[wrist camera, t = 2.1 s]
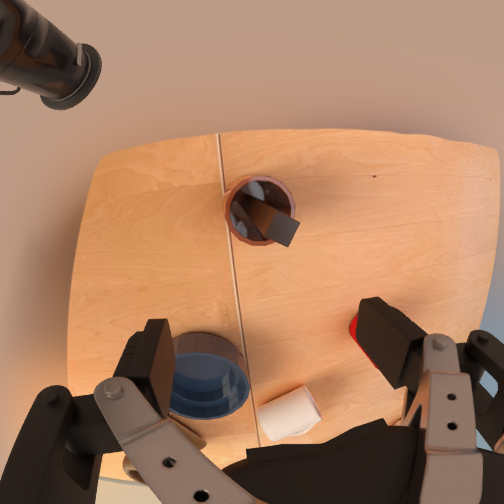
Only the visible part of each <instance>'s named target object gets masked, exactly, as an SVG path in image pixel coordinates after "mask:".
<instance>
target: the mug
mask: <svg viewBox="0 0 504 504" xmlns="http://www.w3.org/2000/svg"><path fill="white" fill-rule="evenodd" d="M257 417H258V421H259V423H260V425H261V427H262V429H263V431H264V433H265V434H266V436H267V437H268V438H269V439H270V440H272V441H278V440H280V439H283V438H285V437H287V436H298V435H302V434H304V433H306V432H308V431H309V430H310V429H311V428H312V427H313V426H314V425H315V424H316V423H318V422H320V421H322V419H323V418H322V415H321V412H320V410H319V408H318V406H317V404H316V402H315V400H314V399H313V397H312V395H311V393H310V392H309V390H308V389H307V387H306V386H304V385H303V386H301V387H299V388H297V389H295V390H293V391H291V392H289V393H287V394H285V395H283V396H281V397H279V398H277V399H275V400H272V401H270V402H268V403H266V404H264V405H261V406H259V407H258V408H257Z"/></svg>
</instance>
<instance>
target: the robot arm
mask: <svg viewBox="0 0 504 504" xmlns="http://www.w3.org/2000/svg"><path fill="white" fill-rule="evenodd" d="M91 68H92V61H91V57H90V56H89V54H88V53H87V52H86V51H84V50H82V45H81V44H80V43H78V45H77V44H76V43H74V42H73V41H72V40H71V39H70V38H69V37H67V36H66V35H65V34H64V33H63V32H62V31H60V30H59V29H58V28H57V27H56V26H54V25H53V24H52V23H51V22H50V21H48V20H47V19H46V18H45V17H43V16H42V15H41V14H40V13H38V12H37V11H36V10H35V9H34V8H32V7H31V6H30V5H28V4H27V3H26V2H25V1H24V0H0V81H2V82H5V83H8V84H11V85H14V86H17V90H14V91H0V95H14V94H16V93H18V92H19V91H20V89H21V88H23V89H25V90H28V91H31V92H34V93H36V94H39V95H41V96H44V97H47V98H48V99H50V100H53V101H64V100H67V99H69V98H71V97H72V96H74V95H75V94H76V93H77V92H78V91H79V90H80V89H81V88H82V87H83V86H84V84H85V83H86V81H87V79H88V77H89V75H90V72H91ZM356 339H357V342H358V344H359V345H360V346H361V347H362V349H363V350H364V351H365V353H366V354H367V355H368V356H369V358H370V359H371V360H372V361H373V363H374V364H375V365H376V366H377V368H378V369H379V370H380V372H381V373H382V374H383V375H384V377H385V378H386V379H387V381H388V382H389V383H390V384H391V386H392V387H393V388H394V390H395V389H398V388H400V387H403V386H406V387H407V389H406V392H405V396H404V403H403V409H402V415H401V421H400V426H399V425H394V426H388V425H387V424H386V422H385V420H384V419H383V418H381V419H378V420H375V421H372V422H369V423H366V424H363V425H360V426H357V427H354V428H352V429H350V430H348V431H346V432H345V433H343V434H341V435H339V436H337V437H335V438H333V439H331V440H329V441H327V442H325V443H322V444H280V445H274V446H267V447H259V448H251V449H246V454H247V458H246V459H243V460H240V461H238V462H235V463H233V464H231V465H229V466H227V467H225V468H223V469H222V470H220V469H219V468H218V467H217V466H216V465H215V464H214V463H212V462H211V461H210V460H209V459H208V458H207V457H206V456H205V455H204V454H203V453H202V452H201V451H200V450H199V449H198V448H197V447H196V446H194V445H193V444H192V443H191V442H190V441H189V440H188V439H187V437H186V436H185V435H184V434H183V433H182V432H181V431H180V430H179V429H178V428H177V427H176V426H175V425H174V424H173V423H172V422H171V421H170V420H169V419H168V413H169V406H170V398H171V391H172V384H173V377H174V371H175V363H176V360H175V351H174V346H173V341H172V337H171V332H170V327H169V323H168V320H167V319H148V321H147V324H146V326H145V329H144V331H141V332H136V333H135V334H134V335H133V336H131V337H130V338H129V340H128V342H127V344H126V346H125V349H124V351H123V353H122V354H123V355H122V356H121V358H120V360H119V363H118V365H117V367H116V370H115V372H114V375H113V377H112V378H108V379H106V380H104V381H102V382H101V383H99V384H98V385H97V386H96V388H95V390H94V394H90V395H83V396H76V397H72V395H71V393H70V391H69V390H68V389H67V388H66V387H64V386H60V385H54V386H50V387H47V388H45V389H43V390H42V391H41V392H40V393H39V394H38V395H37V397H36V399H35V401H34V403H33V405H32V407H31V409H30V411H29V413H28V415H27V417H26V419H25V421H24V423H23V425H22V428H21V430H20V432H19V434H18V436H17V439H16V441H15V443H14V446H13V448H12V451H11V453H10V456H9V458H8V461H7V464H6V466H5V469H4V471H3V474H2V477H1V480H0V504H95V499H96V492H97V485H98V479H99V473H100V467H101V462H102V456H103V454H106V453H114V452H120V451H124V452H125V454H126V455H127V457H128V458H129V460H130V461H131V463H132V464H133V466H134V467H135V469H136V470H137V472H138V473H139V474H140V476H141V477H142V478H143V480H144V481H145V482H146V484H147V485H148V486H149V488H150V489H151V490H152V491H153V493H154V494H155V495H156V497H157V498H158V499H159V500H160V501H161V503H162V504H504V344H503V343H501V342H500V341H499V340H498V339H497V338H495V337H494V336H493V335H492V334H490V333H488V332H486V331H483V330H474V331H472V332H470V334H469V336H468V339H467V342H466V343H457V344H455V342H454V341H453V340H452V339H451V338H450V337H448V336H446V335H443V334H429V335H428V334H427V333H426V332H425V331H424V330H422V329H421V328H420V327H419V326H418V325H417V324H415V323H414V322H413V321H411V319H409V318H408V317H406V315H405V314H403V313H402V312H401V311H400V310H398V309H396V308H394V307H391V306H389V305H388V304H387V303H386V302H384V301H383V300H382V299H381V298H379V297H372V298H366V299H362V300H361V301H360V304H359V311H358V318H357V324H356ZM485 370H486V371H487V372H488V373H489V374H490V375H491V376H492V377H493V378H494V379H495V380H496V381H497V383H498V391H497V394H496V395H495V397H494V398H493V397H492V396H491V395H490V394H489V393H488V391H486V389H485V388H484V387H483V386H482V385H481V384H480V383H479V381H480V379H481V377H482V375H483V373H484V371H485ZM476 429H477V430H478V431H479V433H480V434H481V435H482V437H483V438H484V439H485V441H486V442H487V443H488V445H489V446H490V447H491V449H492V450H493V451H489V450H485V449H482V448H478V447H477V446H476Z"/></svg>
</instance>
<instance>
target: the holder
mask: <svg viewBox="0 0 504 504" xmlns="http://www.w3.org/2000/svg"><path fill="white" fill-rule="evenodd" d="M247 193H248V194H250V195H252V196H254V197H257V198H259V199H261V200H262V201H264V202H266V203H268V204H269V205H271V206H273V207H275V208H276V209H278V210H280V211H281V212H283V213H285V214H286V215H288V216H290V217H291V218H293V219H294V217H295V203H294V200H293V197H292V194H291V192H290V191H289V190H288V189H287V188H286V186H285V185H284V184H283V183H282V182H280V181H278V180H276V179H274V178H272V177H269V176H253V175H246V176H243V177H240V178H238V179H236V180H235V181H233V182H232V183H231V184H230V185H229V186H228V188H227V189H226V191H225V194H224V196H223V210H224V215H225V219H226V221H227V224H228V227H229V229H230V231H231V232H232V233H233V234H234V235H235V236H236V237H237V238H238V239H239V240H240V241H243V242H245V243H247V244H250V245H252V246H266V245H269V244H272V243H274V242H275V241H273V240H271V239H268V238H266V237H264V236H263V234H262V233H261V232H260V230H259V229H258V228H257V226H256V225H255V224H254V223H253V221H252V220H251V219H250V217H249V216H248V215H247V214H246V212H245V211H244V210H243V208H242V207H241V205H242V203H243V201H244V199H245V197H246V195H247Z"/></svg>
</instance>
